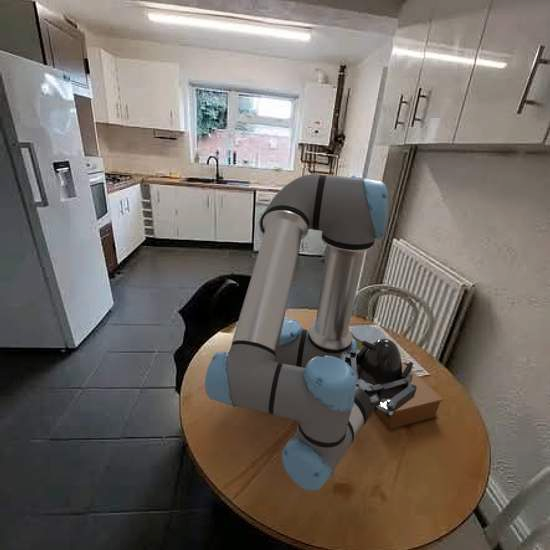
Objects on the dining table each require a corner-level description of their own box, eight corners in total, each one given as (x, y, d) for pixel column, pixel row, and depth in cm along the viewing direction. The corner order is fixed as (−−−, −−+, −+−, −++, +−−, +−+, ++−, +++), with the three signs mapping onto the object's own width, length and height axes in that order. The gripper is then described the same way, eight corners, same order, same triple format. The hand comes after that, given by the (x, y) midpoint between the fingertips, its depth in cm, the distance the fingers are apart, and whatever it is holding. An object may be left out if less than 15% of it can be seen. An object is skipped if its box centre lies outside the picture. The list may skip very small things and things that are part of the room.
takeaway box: (356, 387, 99) (360, 370, 96) (398, 379, 104) (403, 362, 101) (389, 430, 84) (395, 411, 82) (436, 417, 90) (443, 399, 87)
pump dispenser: (349, 377, 79) (359, 325, 73) (390, 382, 78) (404, 331, 72) (354, 407, 69) (366, 351, 64) (401, 414, 68) (418, 358, 63)
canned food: (380, 375, 105) (387, 345, 101) (346, 369, 106) (352, 340, 102) (375, 355, 116) (382, 327, 111) (345, 350, 117) (350, 323, 112)
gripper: (294, 396, 65) (344, 350, 81) (401, 463, 52) (433, 392, 69) (298, 367, 62) (348, 325, 78) (412, 431, 49) (443, 365, 66)
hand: (388, 357), depth 74 cm, fingers closed on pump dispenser, 9 cm apart
